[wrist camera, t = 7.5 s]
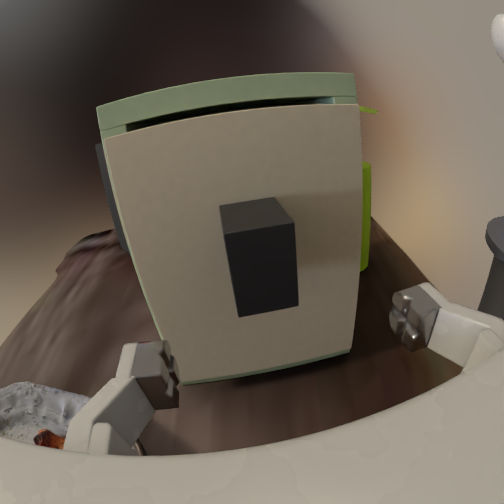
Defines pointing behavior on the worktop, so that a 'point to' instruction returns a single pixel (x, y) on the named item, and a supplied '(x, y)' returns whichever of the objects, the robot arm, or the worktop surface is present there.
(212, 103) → the box
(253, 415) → the worktop surface
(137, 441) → the food plate
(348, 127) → the basket
